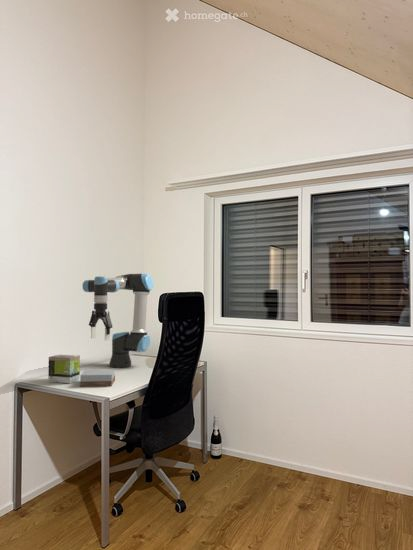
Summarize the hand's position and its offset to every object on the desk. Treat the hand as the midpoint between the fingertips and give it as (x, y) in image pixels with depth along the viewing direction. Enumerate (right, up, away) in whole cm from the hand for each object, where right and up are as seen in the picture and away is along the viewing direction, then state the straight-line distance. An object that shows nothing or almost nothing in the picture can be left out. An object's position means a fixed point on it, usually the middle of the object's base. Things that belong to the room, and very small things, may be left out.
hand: (100, 339), depth 232 cm
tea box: (-21, -25, +1) cm, 33 cm away
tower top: (0, -22, -5) cm, 22 cm away
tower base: (0, -25, -4) cm, 26 cm away
